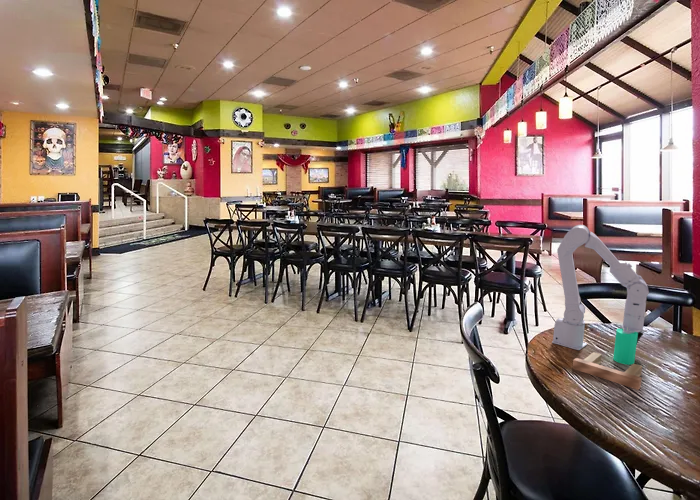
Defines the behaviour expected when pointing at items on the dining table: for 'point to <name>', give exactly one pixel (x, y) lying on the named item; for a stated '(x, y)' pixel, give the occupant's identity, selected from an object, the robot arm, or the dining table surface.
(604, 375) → the stand
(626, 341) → the candle
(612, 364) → the dining table surface
